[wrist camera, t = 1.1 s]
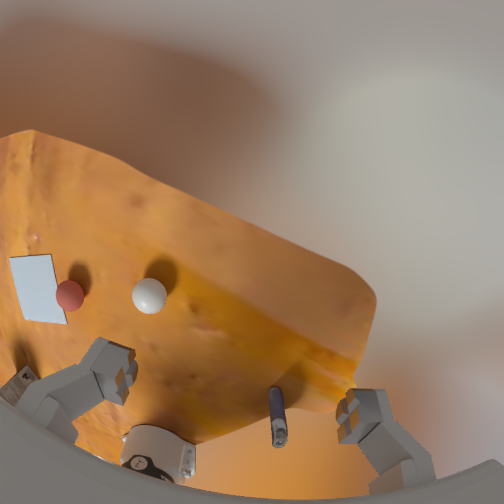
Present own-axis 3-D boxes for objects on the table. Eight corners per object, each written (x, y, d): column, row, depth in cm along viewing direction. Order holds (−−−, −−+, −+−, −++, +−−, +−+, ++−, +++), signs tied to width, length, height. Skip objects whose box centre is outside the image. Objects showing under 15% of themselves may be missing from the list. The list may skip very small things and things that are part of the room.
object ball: (92, 304, 44) (77, 317, 38) (70, 304, 44) (54, 315, 38) (85, 275, 42) (69, 285, 37) (63, 276, 42) (46, 285, 37)
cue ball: (173, 305, 44) (164, 319, 38) (142, 305, 44) (130, 319, 38) (168, 272, 43) (158, 284, 37) (136, 274, 42) (123, 285, 37)
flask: (267, 386, 48) (271, 427, 37) (282, 384, 48) (289, 425, 37) (269, 417, 50) (273, 456, 39) (283, 416, 50) (290, 454, 39)
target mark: (67, 323, 45) (67, 324, 44) (25, 319, 45) (24, 319, 44) (51, 254, 41) (50, 254, 41) (9, 257, 41) (9, 258, 41)
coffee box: (31, 390, 50) (2, 424, 34) (16, 372, 48) (-15, 404, 33) (42, 383, 49) (11, 420, 33) (26, 363, 47) (-8, 397, 32)
